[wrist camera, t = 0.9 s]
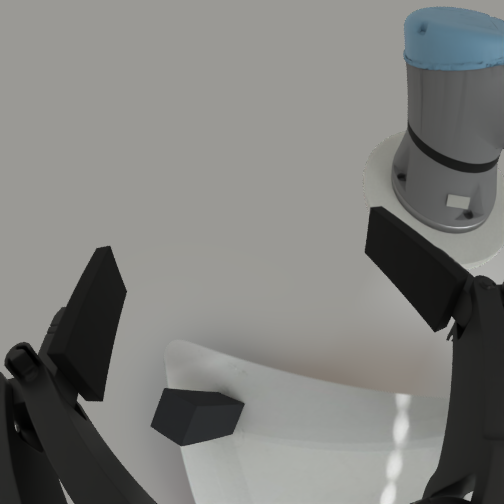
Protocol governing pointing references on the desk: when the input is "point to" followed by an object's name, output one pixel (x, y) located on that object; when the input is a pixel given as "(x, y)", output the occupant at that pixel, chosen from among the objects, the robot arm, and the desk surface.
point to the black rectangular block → (195, 415)
